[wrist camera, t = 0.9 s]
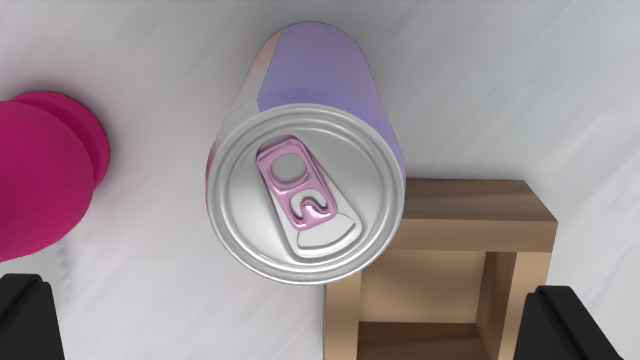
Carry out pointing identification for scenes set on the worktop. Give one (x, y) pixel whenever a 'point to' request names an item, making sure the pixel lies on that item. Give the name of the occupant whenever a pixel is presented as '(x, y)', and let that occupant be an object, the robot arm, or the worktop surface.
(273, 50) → the beverage can
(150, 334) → the worktop surface
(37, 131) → the pepper mill
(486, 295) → the holder
